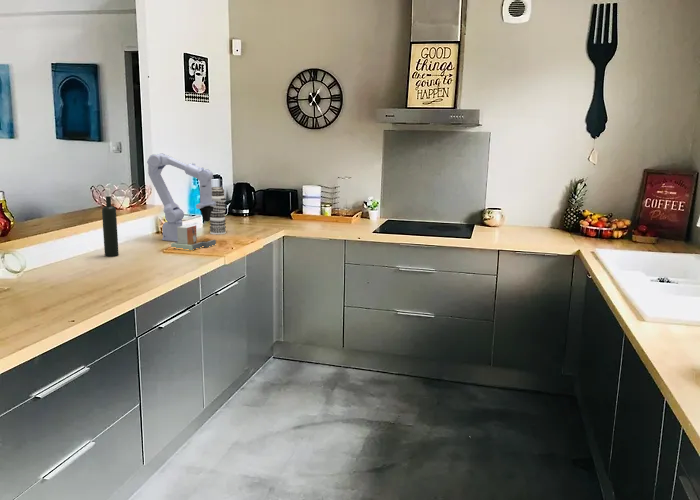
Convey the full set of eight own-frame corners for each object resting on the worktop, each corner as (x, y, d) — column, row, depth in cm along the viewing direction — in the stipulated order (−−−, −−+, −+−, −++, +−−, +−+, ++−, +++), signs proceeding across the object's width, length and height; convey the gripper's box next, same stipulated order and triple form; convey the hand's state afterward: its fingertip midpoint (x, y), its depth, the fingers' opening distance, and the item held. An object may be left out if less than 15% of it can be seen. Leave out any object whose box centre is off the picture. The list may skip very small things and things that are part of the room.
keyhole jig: (166, 248, 282) (166, 243, 281) (187, 241, 297) (187, 237, 297) (196, 251, 277) (196, 246, 276) (215, 244, 292) (215, 239, 292)
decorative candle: (222, 230, 329) (221, 186, 324) (229, 233, 322) (228, 187, 317) (206, 232, 324) (205, 186, 319) (212, 235, 317) (211, 188, 312)
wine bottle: (105, 257, 260) (101, 189, 254) (104, 254, 265) (99, 187, 259) (119, 256, 263) (115, 189, 257) (117, 253, 268) (113, 187, 262)
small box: (187, 249, 280) (186, 227, 278) (177, 248, 282) (176, 226, 280) (197, 246, 287) (196, 225, 285) (187, 245, 289) (186, 224, 287)
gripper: (204, 196, 287) (205, 223, 290) (220, 193, 300) (221, 219, 303) (192, 195, 289) (193, 222, 292) (208, 192, 302) (209, 218, 305)
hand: (206, 221), depth 298 cm, fingers closed
